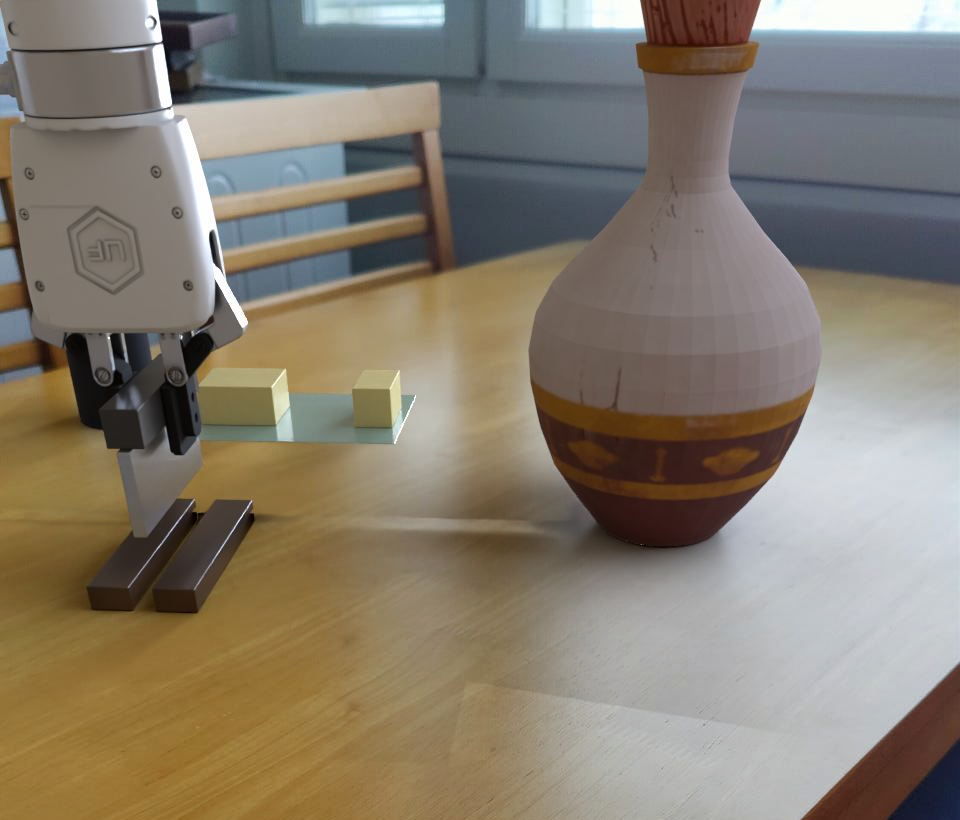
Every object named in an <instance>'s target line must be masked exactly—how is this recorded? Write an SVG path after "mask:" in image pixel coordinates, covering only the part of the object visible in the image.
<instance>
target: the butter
mask: <svg viewBox="0 0 960 820" xmlns="http://www.w3.org/2000/svg"><path fill="white" fill-rule="evenodd" d="M198 385H199V390H198V391H197V392H196V393H197V399H198V402H199V406H200V412H201V419H202V424H203V425H258V426H276V425H277V424H278V422H279V421H280V419H281V418H282V416H283V415H284V413H285V412H286V411H287V409H288V408H289V406H290V402H289V393H290V392H289V384H288V375H287V369H286V368H276V367H275V368H273V367H272V368H271V367H269V368H268V367H267V368H265V367H264V368H263V367H261V368H260V367H213V368H212V369H211V370H210V371H209V372H208V373H207V374H206V375H205V377H204V378H203V379H202V380H200V382H198Z"/></svg>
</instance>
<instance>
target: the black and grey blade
mask: <svg viewBox="0 0 960 820" xmlns="http://www.w3.org/2000/svg"><path fill="white" fill-rule="evenodd" d="M164 373H165V369H164V364H163V359H162V354H161V352H160V353H159V354H157V355H156V356H155V357H154V358H152V361H151V362H150V363H149V364H148V365H147V366H146V367H145V368H144V369H142V370H141V371H140V372H139V373H138V374H137V375H136V376H135V377H134V378H133V379H132V380H131V381H129V382H128V383H127V384H126V385H125V386H124V387H123V388H122V389H121V390H120V391H119V392H118V393H116V394H115V395H114V396H113V397H112V398H111V399H110V400H109V401H108V402H107V403H106V404H105V405H104V406H102V407H101V408H100V409H99V413H100V418H101V422H102V427H103V430H102V431H103V437H104V441H105V445H106V449H108V450H117V451H116V458H117V463H118V468H119V472H120V477H121V482H122V487H123V491H124V496H125V501H126V502H125V503H126V506H127V512H128V516H129V522H130V524H131V529H132V530H131V531H133V535H134V537H135V538H146V537H147V536H148V535H149V534H150V533H151V531H152V530H153V529H154V527H155V526H156V525H157V524H158V522H159V521H160V520H161V518H162V517H163V516H164V515H165V513H166V512H167V511H168V510H169V508H170V507H171V506H172V504H173V503H174V502H175V501H176V499H177V498H179V497H180V496H181V494H182V493H183V492H184V491H185V489H186V488H187V486H188V485H189V484H190V483H191V481H192V480H193V479H194V478H195V476H196V475H197V474H198V473H199V471H200V470H201V469H202V468H203V466H204V460H203V453H202V448H201V441H200V440H199V436H197V438H196V441H195V443H194V444H193V445H192V446H191V447H190V449H189V450H188V451H187V452H186V453H185V455H174V453H171V451H170V446H169V441H168V435H167V430H166V420H165V415H164V409H163V404H162V398H161V388H162V387H163V386H164V385H165V384H166V383H165V377H164ZM197 373H198V372H197V371H196V373H195V374H194V380H195V386H196V393H197V391H198V390H199V385H198V384H199V379H198V374H197Z"/></svg>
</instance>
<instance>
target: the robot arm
mask: <svg viewBox="0 0 960 820" xmlns="http://www.w3.org/2000/svg"><path fill="white" fill-rule="evenodd" d="M0 13H1V17H2V21H3V26H4V30H5V35H6V39H7V44H8V48H9V50H6V58H7V59H6V60H5V61H4V62H3V63H0V96H4V95H5V96H7V95H9V96H10V97H11V98H15V100H16V103H17V108H18V111H19V112H22V113H23V117H24V121H20V122H16V123H12V124H10V125H9V151H10V153H9V154H10V166H11V167H10V168H11V181H12V191H13V200H14V201H13V202H14V210H15V211H14V212H15V218H16V225H17V230H18V231H17V232H18V238H19V246H20V251H21V258H22V264H23V269H24V274H25V280H26V285H27V289H28V295H29V299H30V302H31V305H32V314H31V319H30V325H29V328H30V332H31V334H32V335H33V336H34V338H37V339H38V340H40V341H43V342H44V343H47V344H49V345H52V346H54V347H56V348H58V349H62V350H63V349H64V350H65V349H66V350H67V351H68V352H69V353H70V354H71V355H72V356H74V357H75V358H76V359H77V360H78V361H79V362H80V363H81V364H83V365H84V366H85V367H86V368H87V369H88V370H89V371H91V372H92V373H93V377H94V379H95V381H96V382H97V383H98V384H99V385H101V386H104V388H105V393H106V398H107V402H108V401H109V400H110V399H111V398H112V397H113V396H114V395H115V394H116V393H118V392H119V391H120V390H121V389H122V388H123V387H124V386H125V385H126V384H127V383H128V382H129V381H131V380H132V379H133V378H134V377H135V376H136V375H137V372H132V370H131V366H130V365H129V361H128V355H127V349H126V343H125V338H124V333H147V334H157V340H158V344H159V349H160V353H161V354H162V359H163V364H164V369H165V373H164V377H165V383H166V384H165V385H164V386H163V387H162V388H161V398H162V404H163V409H164V415H165V420H166V430H167V435H168V441H169V446H170V451H171V453H174V455H185V453H186V452H187V451H188V450H189V449H190V447H191V446H192V445H193V444H194V443H195V441H196V438H197V436H199V434H200V433H201V417H200V411H199V405H198V402H199V399H198V393H197V392H196V386H195V380H194V374H195V373H196V372H197V371H198V370H199V369H200V367H201V366H202V364H203V363H204V362H205V361H206V360H207V358H209V356H210V355H211V353H213V352H215V351H216V350H219V349H221V348H223V347H225V346H227V345H230V344H231V343H233V342H235V341H237V340H239V339H240V338H241V337H242V336H244V335H245V334H246V332H247V331H248V329H249V322H248V320H247V318H246V315H245V314H244V312H243V310H242V308H241V306H240V305H239V303H238V301H237V299H236V297H235V296H234V294H233V292H232V290H231V288H230V287H229V285H228V283H227V277H226V269H225V264H224V263H225V262H224V257H223V252H222V246H221V241H220V237H219V231H218V227H217V221H216V218H215V212H214V208H213V204H212V200H211V196H210V192H209V187H208V184H207V180H206V177H205V173H204V169H203V166H202V163H201V159H200V155H199V152H198V149H197V146H196V142H195V140H194V137H193V133H192V130H191V128H190V125H189V122H188V119H187V117H186V115H182V114H175V112H174V107H173V100H172V93H171V87H170V81H169V80H170V79H169V74H168V73H169V72H168V67H167V60H166V54H165V47H164V43H163V42H162V41H163V34H162V28H161V21H160V15H159V7H158V1H157V0H0ZM211 317H213V322H212V323H210V324H208V325H207V326H204V325H205V324H206V323H207V322H208V321H209V319H210V318H211ZM202 326H204V327H202ZM199 328H200V329H199ZM197 329H199V330H198V331H197V332H196V333H195V331H196V330H197ZM66 350H65V351H66Z"/></svg>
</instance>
